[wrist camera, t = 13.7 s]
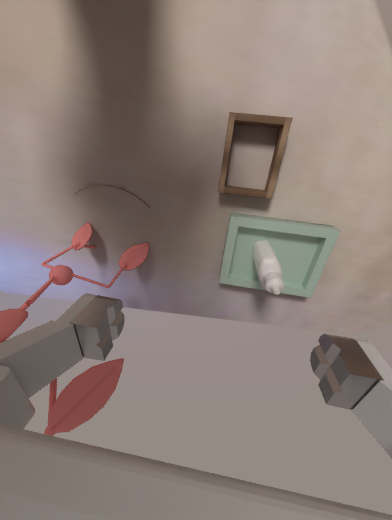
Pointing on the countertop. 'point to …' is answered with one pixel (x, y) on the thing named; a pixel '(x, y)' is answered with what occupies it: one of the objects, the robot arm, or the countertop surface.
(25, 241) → the countertop surface
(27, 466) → the robot arm
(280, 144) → the walnut rectangular frame
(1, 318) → the red leafy plant shape
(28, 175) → the countertop surface
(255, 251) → the eye dropper bottle
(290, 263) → the tray
